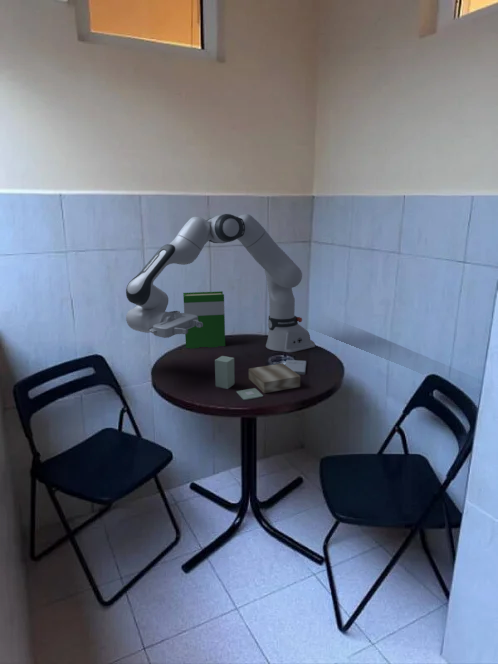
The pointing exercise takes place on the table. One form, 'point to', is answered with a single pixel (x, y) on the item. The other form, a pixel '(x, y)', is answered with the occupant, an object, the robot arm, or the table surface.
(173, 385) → the table surface
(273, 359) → the table surface
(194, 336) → the hardback book
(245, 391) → the tile
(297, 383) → the birch base block
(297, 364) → the external hard drive
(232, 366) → the sage block
